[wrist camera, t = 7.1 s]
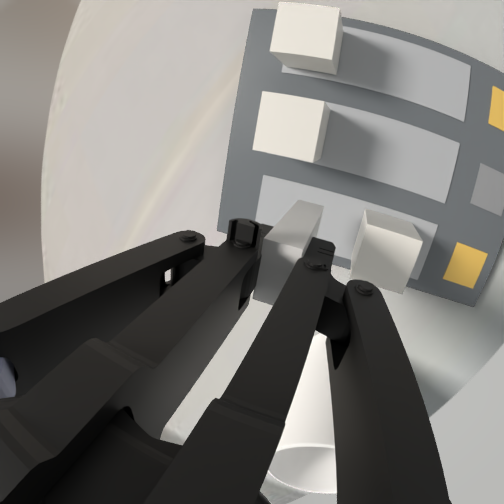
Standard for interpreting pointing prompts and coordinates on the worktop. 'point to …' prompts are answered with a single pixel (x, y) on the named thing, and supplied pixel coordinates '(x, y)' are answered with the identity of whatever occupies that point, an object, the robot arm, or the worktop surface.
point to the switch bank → (382, 150)
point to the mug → (309, 430)
